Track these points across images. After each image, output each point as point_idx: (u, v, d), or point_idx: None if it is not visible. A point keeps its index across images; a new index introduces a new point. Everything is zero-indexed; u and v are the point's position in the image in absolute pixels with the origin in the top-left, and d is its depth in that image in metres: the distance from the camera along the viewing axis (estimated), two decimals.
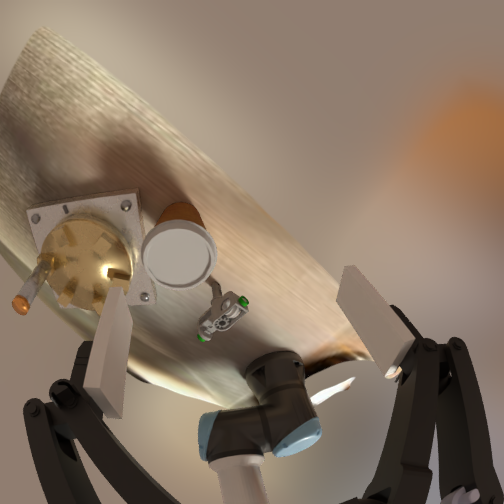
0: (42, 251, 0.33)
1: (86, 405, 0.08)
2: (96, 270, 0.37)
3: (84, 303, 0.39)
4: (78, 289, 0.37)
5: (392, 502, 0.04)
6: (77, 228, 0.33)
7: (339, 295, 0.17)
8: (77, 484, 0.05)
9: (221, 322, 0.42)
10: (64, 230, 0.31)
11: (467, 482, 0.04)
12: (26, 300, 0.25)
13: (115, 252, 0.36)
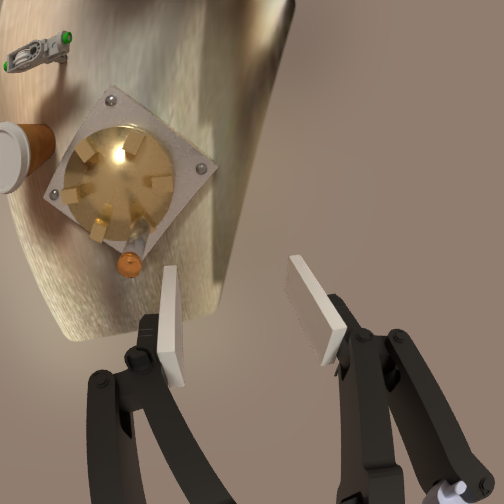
0: None
1: (160, 374, 0.09)
2: (102, 176, 0.31)
3: (154, 156, 0.32)
4: (141, 175, 0.32)
5: None
6: (85, 221, 0.33)
7: (286, 284, 0.18)
8: (127, 462, 0.07)
9: (38, 47, 0.17)
10: None
11: (448, 476, 0.05)
12: None
13: (71, 177, 0.30)
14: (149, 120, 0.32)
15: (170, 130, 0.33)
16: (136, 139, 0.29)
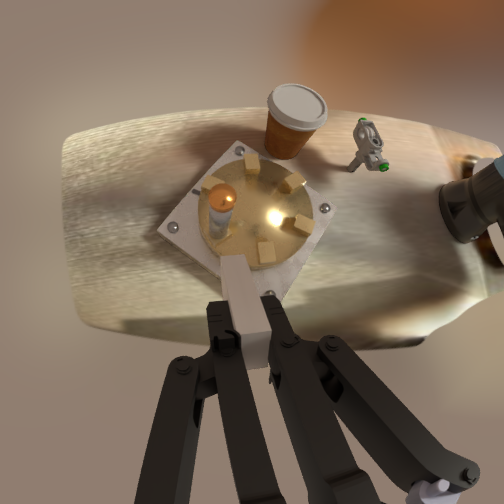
0: (204, 227, 0.35)
1: (242, 359, 0.10)
2: (267, 196, 0.38)
3: (288, 245, 0.36)
4: (270, 233, 0.36)
5: None
6: (220, 174, 0.38)
7: None
8: (188, 452, 0.07)
9: None
10: None
11: (426, 478, 0.05)
12: None
13: (266, 166, 0.39)
14: (311, 242, 0.41)
15: (303, 262, 0.40)
16: (308, 227, 0.36)
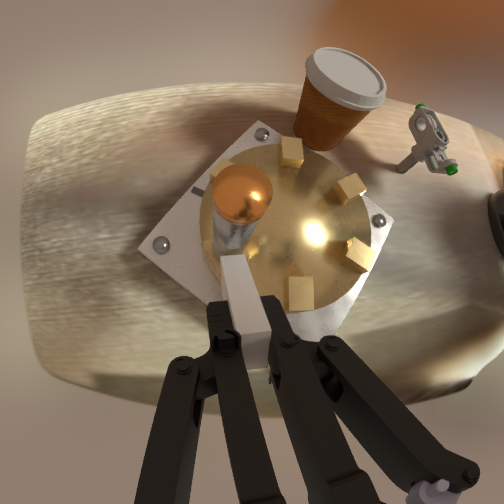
0: (205, 239, 0.22)
1: (242, 359, 0.10)
2: (309, 203, 0.24)
3: (333, 284, 0.23)
4: (307, 262, 0.23)
5: None
6: (242, 160, 0.25)
7: None
8: (188, 451, 0.07)
9: None
10: None
11: (426, 478, 0.05)
12: None
13: (310, 160, 0.26)
14: None
15: (353, 300, 0.26)
16: (365, 259, 0.22)
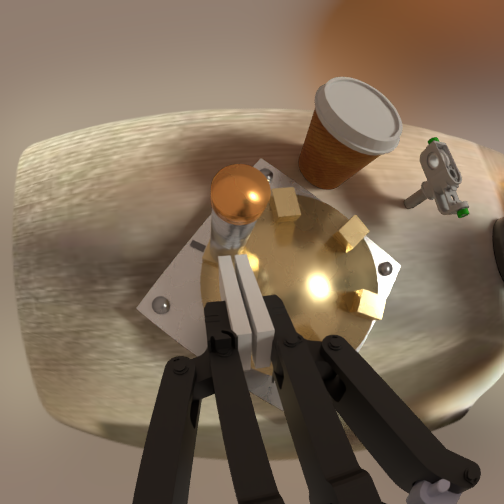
0: None
1: (238, 360, 0.10)
2: (324, 284, 0.23)
3: None
4: None
5: None
6: (308, 205, 0.25)
7: None
8: (186, 452, 0.07)
9: None
10: None
11: (426, 477, 0.05)
12: None
13: (361, 255, 0.24)
14: None
15: None
16: None
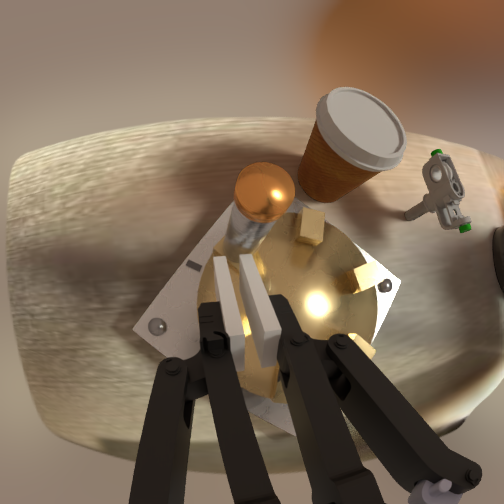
0: None
1: (231, 360, 0.10)
2: (321, 316, 0.22)
3: (245, 370, 0.20)
4: None
5: None
6: (333, 236, 0.24)
7: (239, 284, 0.18)
8: (180, 452, 0.07)
9: None
10: None
11: (429, 477, 0.05)
12: None
13: (367, 301, 0.23)
14: None
15: None
16: (284, 394, 0.19)
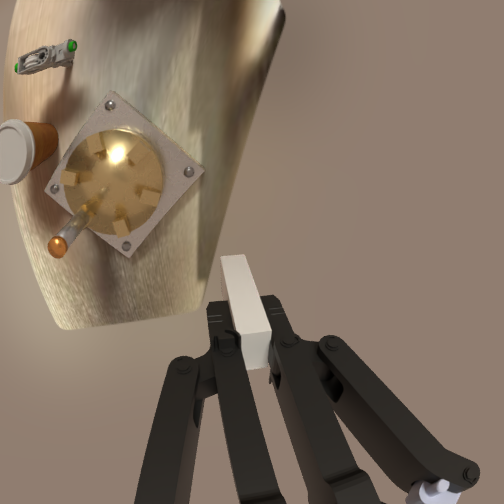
0: (74, 211, 0.35)
1: (242, 359, 0.10)
2: (116, 171, 0.34)
3: (141, 214, 0.38)
4: (123, 206, 0.37)
5: None
6: (74, 159, 0.32)
7: None
8: (188, 452, 0.07)
9: (47, 53, 0.20)
10: (65, 170, 0.31)
11: (426, 478, 0.05)
12: (58, 236, 0.27)
13: (112, 138, 0.32)
14: (143, 125, 0.35)
15: (162, 135, 0.36)
16: (153, 200, 0.36)
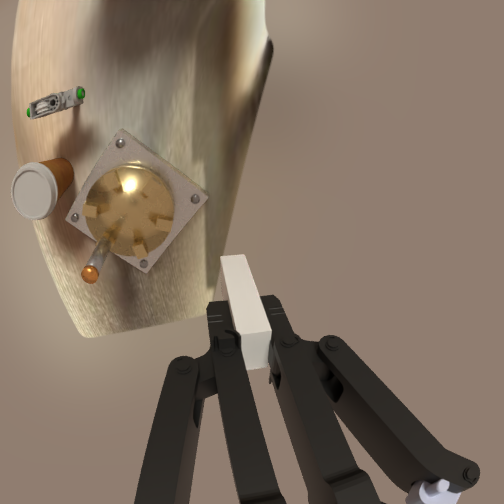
0: (96, 238, 0.43)
1: (242, 359, 0.10)
2: (132, 203, 0.42)
3: (157, 238, 0.46)
4: (141, 232, 0.44)
5: None
6: (93, 193, 0.39)
7: None
8: (188, 451, 0.07)
9: None
10: (86, 204, 0.39)
11: (426, 478, 0.05)
12: (89, 265, 0.35)
13: (126, 175, 0.39)
14: (152, 160, 0.42)
15: (169, 168, 0.43)
16: (166, 227, 0.44)
